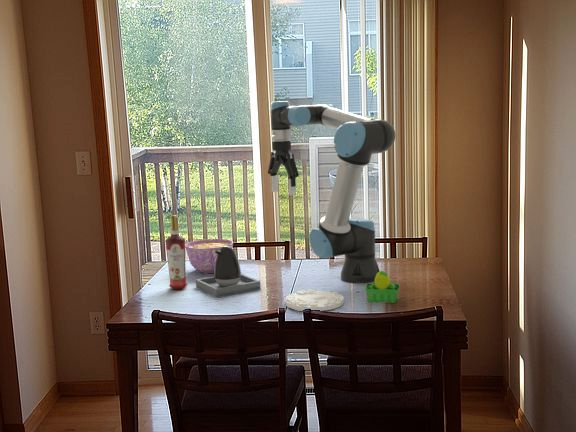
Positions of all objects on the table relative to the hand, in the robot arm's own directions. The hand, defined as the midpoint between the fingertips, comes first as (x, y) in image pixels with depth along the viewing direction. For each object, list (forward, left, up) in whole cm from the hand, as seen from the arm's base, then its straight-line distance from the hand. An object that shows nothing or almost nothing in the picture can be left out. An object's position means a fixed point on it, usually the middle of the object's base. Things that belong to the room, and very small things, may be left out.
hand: (283, 193), depth 294 cm
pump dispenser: (-10, +32, -31) cm, 46 cm away
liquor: (+2, +47, -32) cm, 57 cm away
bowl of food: (+20, +25, -32) cm, 45 cm away
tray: (-10, +32, -32) cm, 46 cm away
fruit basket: (-60, -2, -32) cm, 68 cm away
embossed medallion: (-48, +18, -32) cm, 61 cm away
